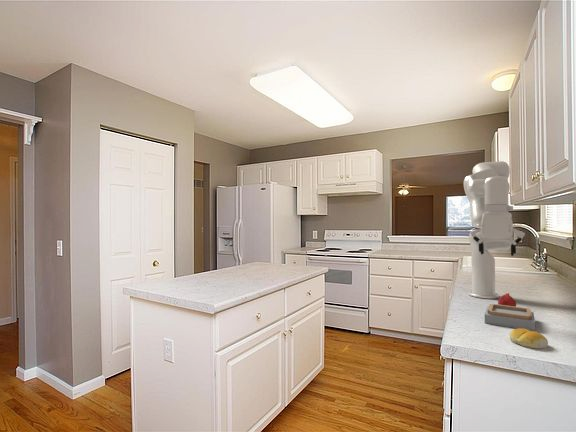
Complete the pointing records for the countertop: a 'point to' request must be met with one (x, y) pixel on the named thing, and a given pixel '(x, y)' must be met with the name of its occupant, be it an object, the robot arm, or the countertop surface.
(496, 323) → the stand
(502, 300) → the pomegranate
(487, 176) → the robot arm
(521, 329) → the bread roll
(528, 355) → the countertop surface
